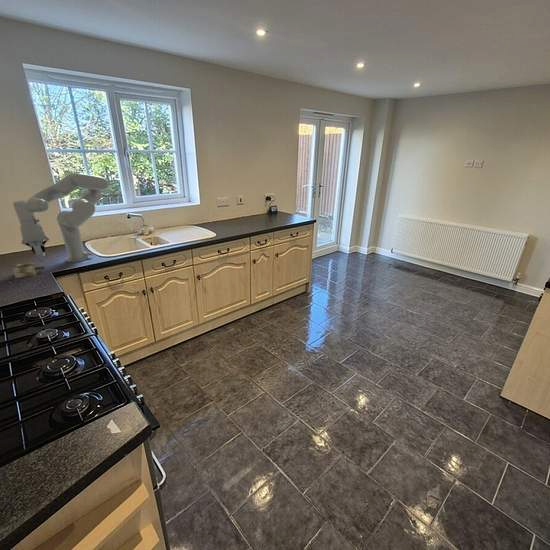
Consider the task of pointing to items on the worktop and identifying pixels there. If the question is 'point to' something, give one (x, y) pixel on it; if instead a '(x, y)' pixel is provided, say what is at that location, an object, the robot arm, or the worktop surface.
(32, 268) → the socket block
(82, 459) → the worktop surface
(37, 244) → the grey upright block
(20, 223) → the robot arm
